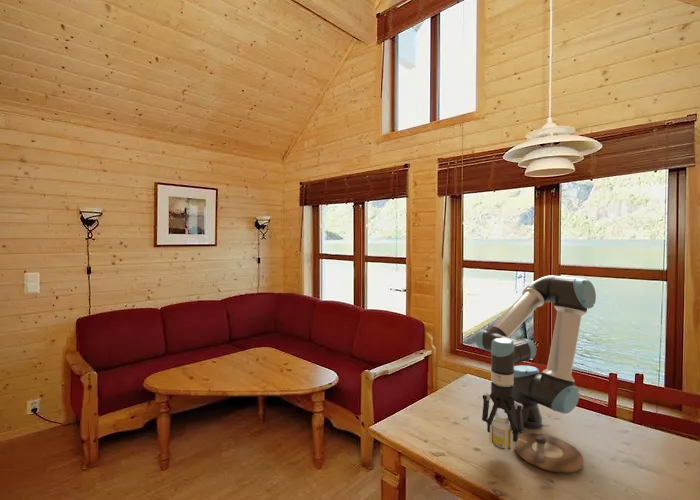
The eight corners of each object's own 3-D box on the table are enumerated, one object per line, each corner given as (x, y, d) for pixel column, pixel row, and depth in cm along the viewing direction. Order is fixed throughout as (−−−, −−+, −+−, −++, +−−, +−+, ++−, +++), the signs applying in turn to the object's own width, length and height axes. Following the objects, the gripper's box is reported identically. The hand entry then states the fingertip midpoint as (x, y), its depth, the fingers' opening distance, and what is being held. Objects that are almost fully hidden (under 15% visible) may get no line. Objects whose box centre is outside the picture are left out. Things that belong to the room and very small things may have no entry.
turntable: (505, 453, 131) (506, 429, 130) (524, 429, 147) (525, 407, 147) (575, 481, 116) (576, 454, 116) (588, 451, 132) (589, 427, 132)
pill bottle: (511, 442, 132) (511, 411, 131) (513, 453, 126) (513, 421, 125) (492, 439, 134) (492, 409, 134) (493, 449, 128) (493, 418, 128)
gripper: (471, 379, 133) (471, 439, 134) (528, 394, 120) (528, 461, 121) (479, 372, 138) (480, 431, 139) (534, 386, 125) (534, 450, 126)
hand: (502, 445), depth 130 cm, fingers closed on pill bottle, 6 cm apart
